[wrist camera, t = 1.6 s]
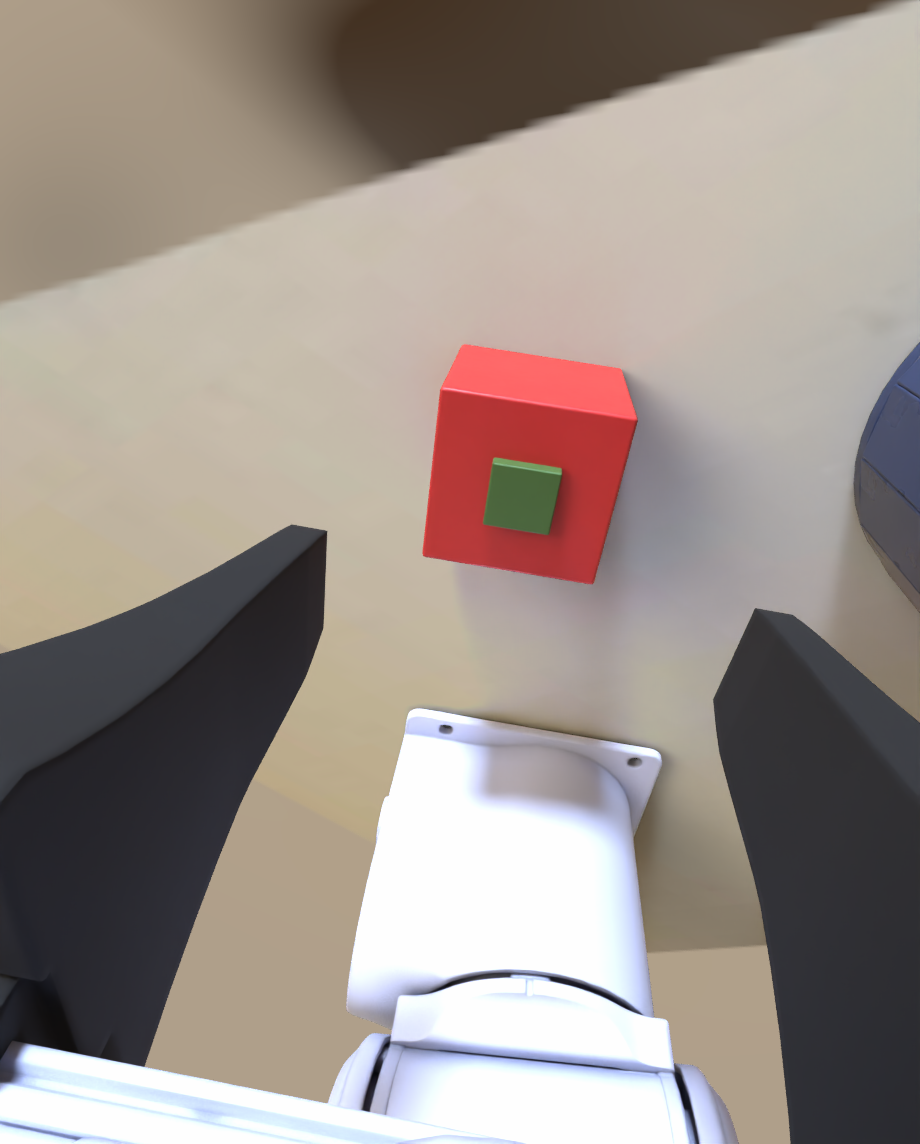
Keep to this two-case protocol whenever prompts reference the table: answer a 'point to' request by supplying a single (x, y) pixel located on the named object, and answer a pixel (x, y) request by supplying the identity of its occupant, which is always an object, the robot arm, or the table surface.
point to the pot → (893, 478)
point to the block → (527, 463)
